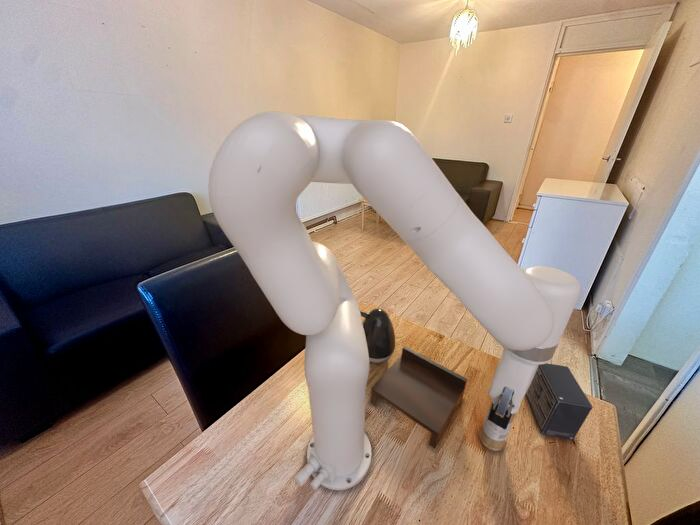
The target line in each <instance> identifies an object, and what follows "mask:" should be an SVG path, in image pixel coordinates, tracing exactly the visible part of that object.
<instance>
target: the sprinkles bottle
mask: <svg viewBox="0 0 700 525" xmlns="http://www.w3.org/2000/svg"><path fill="white" fill-rule="evenodd" d="M502 394H503V393H502ZM511 399H512V398H511ZM495 400H496V398H492V397H491V401H490V404H489V406H488V407H489V408H488V409H487V413H486V415H485V418H484V420H483V424H482V428H481V430H480V432H479V439H480V441H481V443H482V445H483V446H484V447H485V448H487V449H489V450H491V451H493V452H498V451H501V450H502V449H503V448H504V445H505V441H506V440H507V437H508V436H509V433H510V430H511V428H512V425H513V423H514V419H515V416H516V414H517V413H518V412H519V410H520V407H521V404H520V405H519V407H518V408H517V409H512V411H511V414H512V416H511V418H510V421H509V423H508V426H507V428H506V429H503V428H501V427H499V426H498V425H496V424H494V423H493V422H491V421H489V420H488V416H489V413H490V410H491V407H492V405H493V404H494V403H495ZM499 403H500V400H499ZM499 403H498V404H499ZM509 406H510V405H509V404H508V406H507V409H509Z"/></svg>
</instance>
